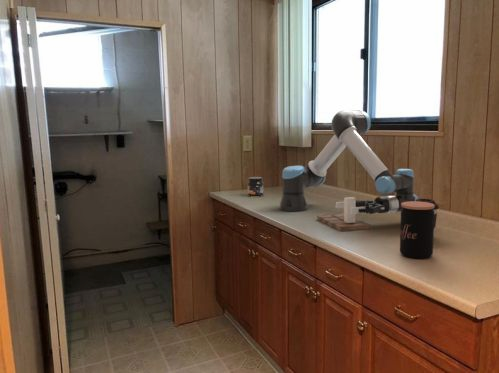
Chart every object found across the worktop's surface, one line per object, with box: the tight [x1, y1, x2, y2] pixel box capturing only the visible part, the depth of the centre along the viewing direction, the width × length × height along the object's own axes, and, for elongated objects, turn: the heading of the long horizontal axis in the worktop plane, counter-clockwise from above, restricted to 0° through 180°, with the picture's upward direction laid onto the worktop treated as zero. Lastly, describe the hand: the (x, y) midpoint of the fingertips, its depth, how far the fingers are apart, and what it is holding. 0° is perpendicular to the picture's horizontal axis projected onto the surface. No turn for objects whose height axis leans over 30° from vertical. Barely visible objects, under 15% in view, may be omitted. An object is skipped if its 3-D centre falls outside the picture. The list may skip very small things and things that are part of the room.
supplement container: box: [247, 176, 264, 197], centre depth 274 cm, size 10×10×12 cm
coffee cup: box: [416, 198, 440, 238], centre depth 165 cm, size 10×10×15 cm
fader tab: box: [343, 196, 357, 223], centre depth 183 cm, size 3×4×11 cm
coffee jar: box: [399, 201, 435, 260], centre depth 142 cm, size 11×11×18 cm
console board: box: [316, 213, 371, 232], centre depth 190 cm, size 24×14×2 cm, turn 15°
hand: (343, 208), depth 182 cm, fingers open, 13 cm apart
